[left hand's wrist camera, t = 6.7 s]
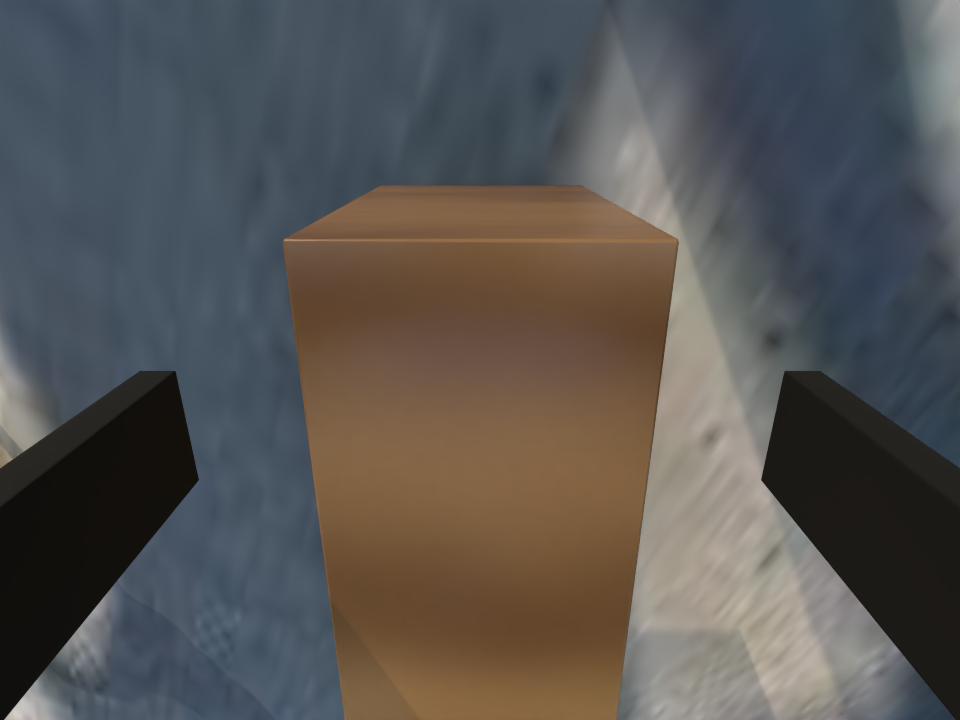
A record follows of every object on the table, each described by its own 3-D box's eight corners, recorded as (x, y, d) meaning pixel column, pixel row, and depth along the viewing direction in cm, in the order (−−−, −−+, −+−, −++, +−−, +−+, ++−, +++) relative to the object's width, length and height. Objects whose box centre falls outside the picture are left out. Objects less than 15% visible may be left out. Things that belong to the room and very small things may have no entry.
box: (379, 185, 21) (281, 238, 11) (583, 185, 21) (680, 238, 11) (414, 740, 32) (383, 1023, 22) (546, 740, 32) (577, 1024, 22)
